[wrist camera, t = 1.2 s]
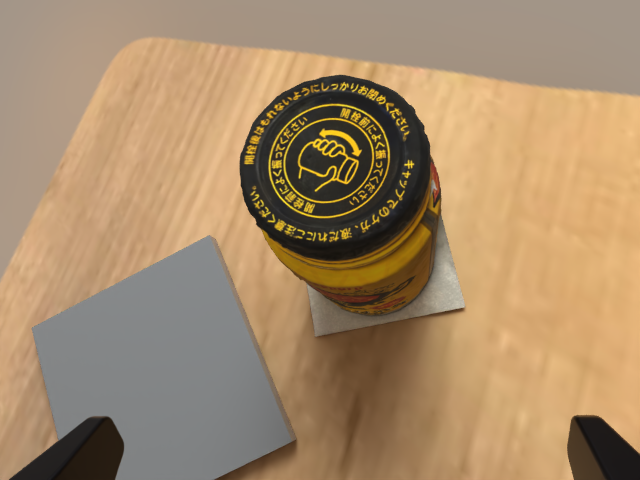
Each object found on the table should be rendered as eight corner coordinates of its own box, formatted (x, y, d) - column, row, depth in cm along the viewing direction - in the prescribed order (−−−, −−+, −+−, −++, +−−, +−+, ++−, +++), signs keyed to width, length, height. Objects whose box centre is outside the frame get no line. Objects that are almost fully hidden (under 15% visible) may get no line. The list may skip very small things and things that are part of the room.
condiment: (315, 337, 23) (218, 307, 12) (289, 181, 26) (188, 32, 14) (465, 307, 22) (516, 244, 11) (423, 148, 25) (428, -40, 13)
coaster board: (296, 439, 22) (292, 441, 21) (94, 537, 23) (83, 543, 22) (215, 239, 25) (209, 235, 25) (42, 328, 26) (31, 327, 25)
